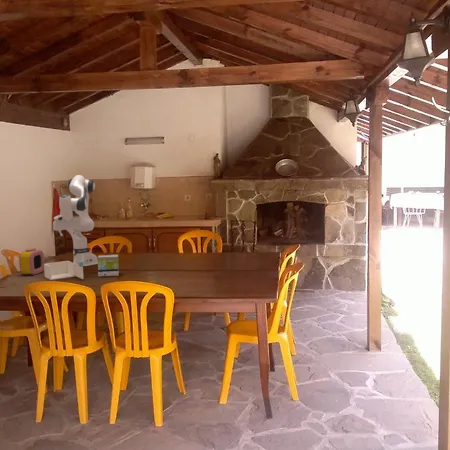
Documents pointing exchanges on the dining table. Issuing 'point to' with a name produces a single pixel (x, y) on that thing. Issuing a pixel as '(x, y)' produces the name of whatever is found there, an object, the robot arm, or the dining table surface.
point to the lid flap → (78, 270)
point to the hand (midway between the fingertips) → (68, 235)
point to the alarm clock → (31, 261)
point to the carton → (59, 270)
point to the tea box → (108, 265)
